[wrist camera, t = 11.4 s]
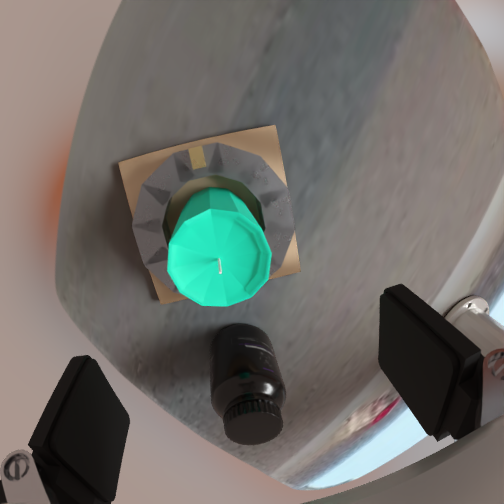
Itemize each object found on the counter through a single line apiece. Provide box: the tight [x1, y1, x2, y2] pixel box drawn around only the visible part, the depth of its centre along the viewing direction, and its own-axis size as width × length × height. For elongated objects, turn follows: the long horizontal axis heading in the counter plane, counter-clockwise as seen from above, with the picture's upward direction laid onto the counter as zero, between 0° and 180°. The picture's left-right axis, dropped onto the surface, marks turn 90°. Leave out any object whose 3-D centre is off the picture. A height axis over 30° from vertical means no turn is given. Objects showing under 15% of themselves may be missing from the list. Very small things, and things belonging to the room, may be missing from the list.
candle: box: [167, 187, 272, 306], centre depth 21 cm, size 6×6×12 cm
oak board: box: [118, 125, 301, 305], centre depth 27 cm, size 14×14×1 cm
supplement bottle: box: [210, 324, 286, 445], centre depth 27 cm, size 7×7×12 cm
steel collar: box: [132, 142, 295, 295], centre depth 25 cm, size 13×13×4 cm
